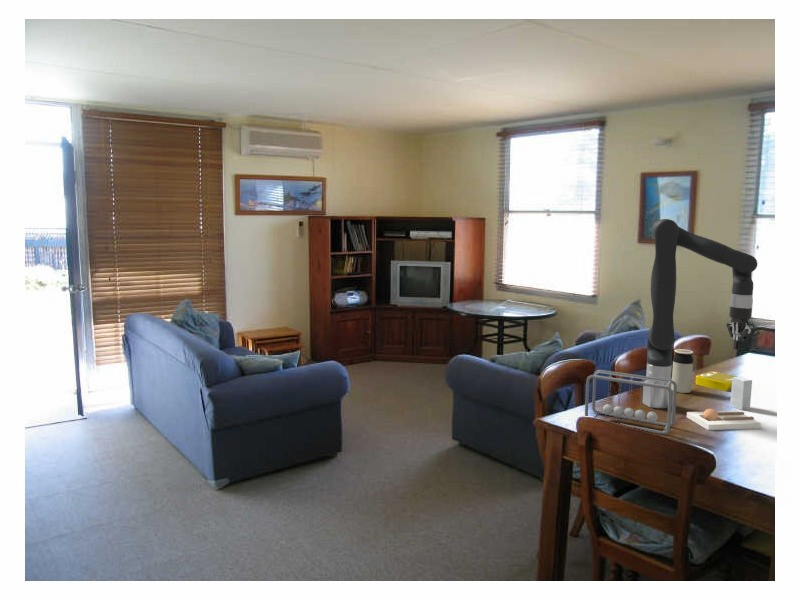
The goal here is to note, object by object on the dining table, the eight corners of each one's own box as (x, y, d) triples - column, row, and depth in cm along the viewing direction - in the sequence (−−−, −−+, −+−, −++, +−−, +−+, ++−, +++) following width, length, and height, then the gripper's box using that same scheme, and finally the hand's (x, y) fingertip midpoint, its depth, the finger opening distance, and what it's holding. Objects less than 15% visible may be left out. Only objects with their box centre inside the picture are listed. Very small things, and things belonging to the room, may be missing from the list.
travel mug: (692, 394, 263) (695, 353, 261) (672, 392, 266) (674, 352, 263) (689, 389, 271) (692, 349, 268) (670, 387, 273) (673, 348, 271)
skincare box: (750, 409, 244) (752, 380, 242) (741, 410, 242) (744, 381, 241) (737, 404, 249) (740, 376, 248) (729, 405, 248) (731, 377, 246)
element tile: (726, 392, 268) (727, 382, 267) (693, 384, 280) (694, 374, 279) (743, 387, 276) (744, 376, 275) (710, 379, 288) (711, 369, 287)
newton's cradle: (674, 427, 223) (677, 380, 221) (669, 436, 215) (672, 387, 212) (592, 412, 240) (594, 368, 237) (584, 420, 231) (586, 374, 229)
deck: (708, 430, 220) (708, 422, 220) (686, 417, 234) (687, 410, 234) (760, 428, 222) (760, 420, 222) (735, 415, 236) (736, 408, 236)
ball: (711, 405, 226) (723, 413, 226) (704, 406, 231) (716, 414, 231) (704, 416, 226) (716, 424, 225) (698, 417, 230) (709, 425, 230)
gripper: (721, 303, 241) (717, 346, 244) (743, 308, 228) (739, 353, 231) (739, 303, 242) (735, 345, 245) (761, 308, 229) (757, 353, 231)
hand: (737, 349), depth 238 cm, fingers closed
